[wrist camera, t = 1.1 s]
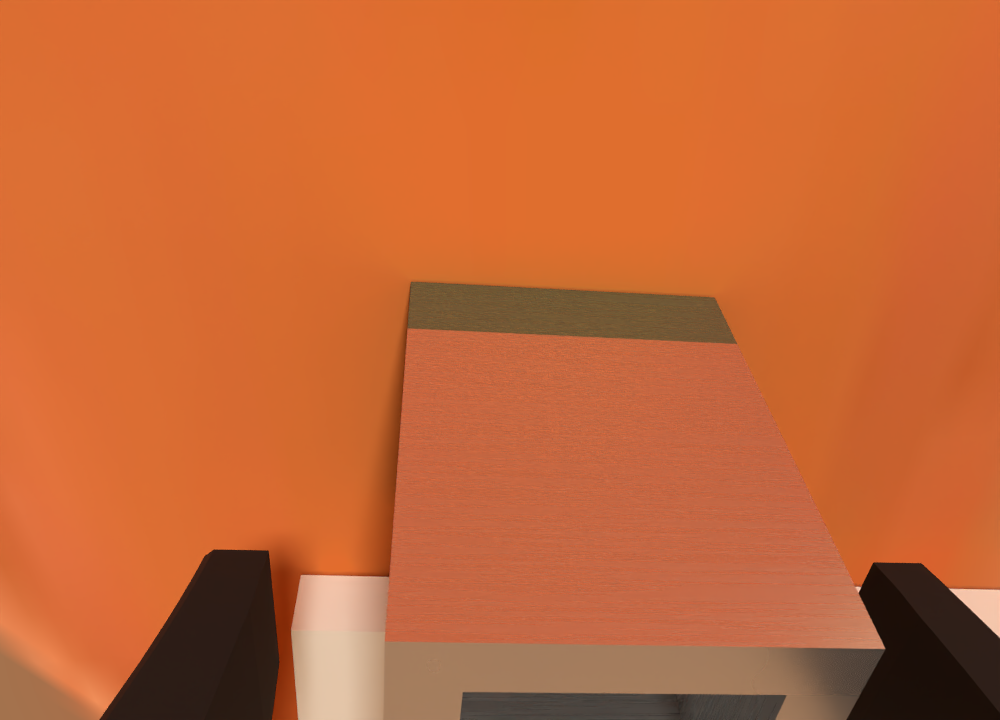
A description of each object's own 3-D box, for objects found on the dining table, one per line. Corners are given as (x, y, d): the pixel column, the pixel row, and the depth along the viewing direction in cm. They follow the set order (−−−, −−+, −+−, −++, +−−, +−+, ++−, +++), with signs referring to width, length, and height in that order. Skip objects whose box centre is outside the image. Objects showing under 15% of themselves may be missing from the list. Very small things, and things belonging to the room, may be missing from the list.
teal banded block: (715, 298, 12) (885, 649, 8) (656, 513, 15) (756, 881, 10) (410, 281, 12) (384, 641, 7) (403, 505, 15) (380, 885, 10)
